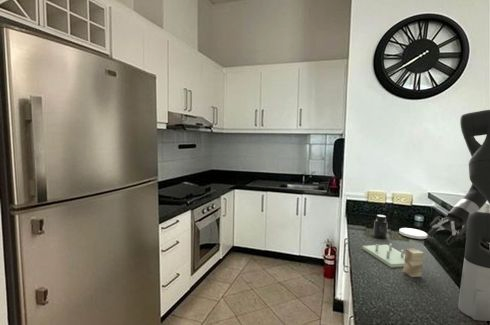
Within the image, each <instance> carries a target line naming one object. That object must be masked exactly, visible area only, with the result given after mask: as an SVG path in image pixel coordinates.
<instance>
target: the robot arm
mask: <svg viewBox="0 0 490 325" xmlns="http://www.w3.org/2000/svg"><path fill="white" fill-rule="evenodd" d="M459 126H460V131H461V134H462V136H463V140H464V142H465V145H466V147H467V149H468V151H469V153H470V156H471V157H470V159H469V161H468V174H469V180H470V182H471V185H470V188H469V189H468V190H467V193H466V194H465V195H464V197H462V198H461V199H460V200H459V201H457V203H456V204H455V205H454V206H453V207H452V208H451V209H450V210H449V211H448V212H447V215H446V217H442V216H441V215H438V216H436V218H434V219H433V220H432V221H431V222H430V223H429V226H430V227H431V228H430V230H428V232H427V236H428V237H430V238H432V237H434V236H435V234H436V233H437V232H438V231H443V230H446V231H449V232H451V234H450V235H449V237H447V239H445V243H446V245H448V246H451V245H452V244H453V243H454V242H455V241H456V240H459V239H460V240H465V246H464V255H463V256H464V258H463V265H462V272H461V280H460V289H459V298H458V303H457V304H458V305H457V307H458V310H459V311H460V312H461V313H463V314H464V315H465V316H468V317H470V318H471V319H473V321H480V322H487V321H490V250H489V249H487V248H484V247H483V246H482V245H481V242H483V243H486V244H487V243H488V244H490V212H484V211H479V210H481V208H482V207H483V206H484V205H485V204H486V203H488V204H489V205H490V109H485V110H478V111H472V112H468V113H467V112H466V113H464V114H462V115H461V116H460V119H459ZM479 136H480V137H481V136H485V139H484V141H483V143H482V144H481V143H480V142H479V141H477V140H476V138H475V137H479Z"/></svg>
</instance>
